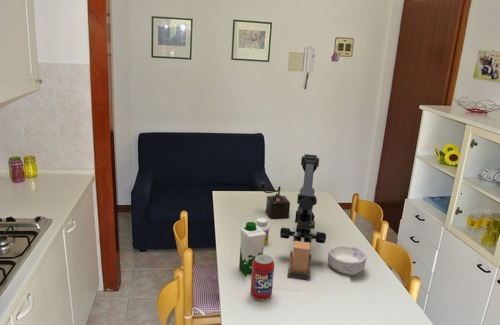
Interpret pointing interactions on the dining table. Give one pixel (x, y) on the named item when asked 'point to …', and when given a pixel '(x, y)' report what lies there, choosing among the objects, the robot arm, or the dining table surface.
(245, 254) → the milk carton
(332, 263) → the paper bowls
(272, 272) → the soda can
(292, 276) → the brown wooden tray
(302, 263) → the block
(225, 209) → the dining table surface
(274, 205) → the brown manual coffee grinder
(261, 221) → the supplement bottle
